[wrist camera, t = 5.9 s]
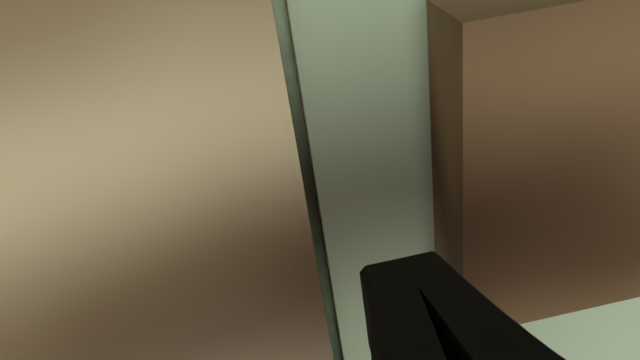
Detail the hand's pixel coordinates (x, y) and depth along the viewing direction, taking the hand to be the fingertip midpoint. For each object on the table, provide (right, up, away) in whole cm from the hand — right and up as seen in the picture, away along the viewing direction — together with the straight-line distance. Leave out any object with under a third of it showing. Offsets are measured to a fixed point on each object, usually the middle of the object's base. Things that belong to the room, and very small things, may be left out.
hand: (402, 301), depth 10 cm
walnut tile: (+5, +2, +2) cm, 6 cm away
